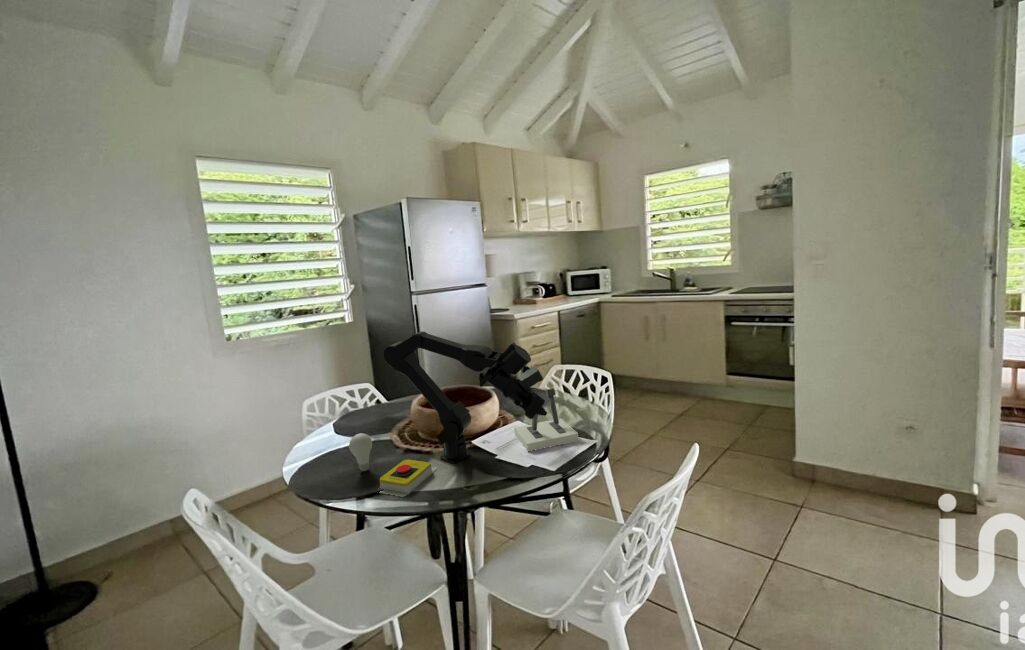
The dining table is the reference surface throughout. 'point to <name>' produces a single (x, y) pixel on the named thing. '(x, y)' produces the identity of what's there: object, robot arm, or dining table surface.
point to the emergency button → (405, 477)
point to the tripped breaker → (534, 422)
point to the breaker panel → (546, 430)
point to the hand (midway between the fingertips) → (546, 414)
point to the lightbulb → (361, 450)
